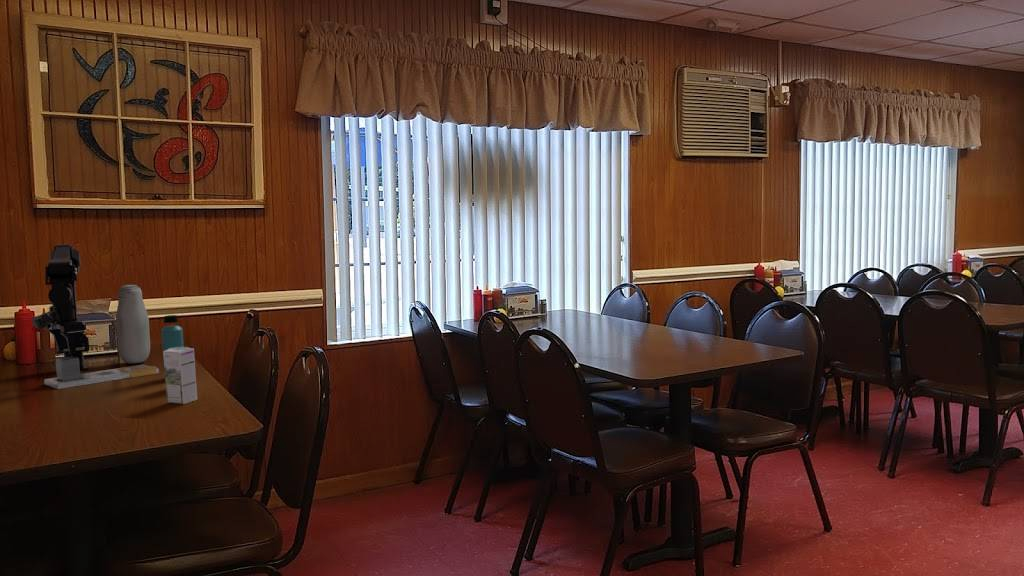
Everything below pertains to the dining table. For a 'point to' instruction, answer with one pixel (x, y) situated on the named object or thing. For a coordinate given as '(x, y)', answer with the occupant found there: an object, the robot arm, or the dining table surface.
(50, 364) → the dining table surface
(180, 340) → the beverage bottle
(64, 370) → the steel block
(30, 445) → the dining table surface
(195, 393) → the syrup box
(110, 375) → the white flat frame
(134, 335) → the glass bottle
